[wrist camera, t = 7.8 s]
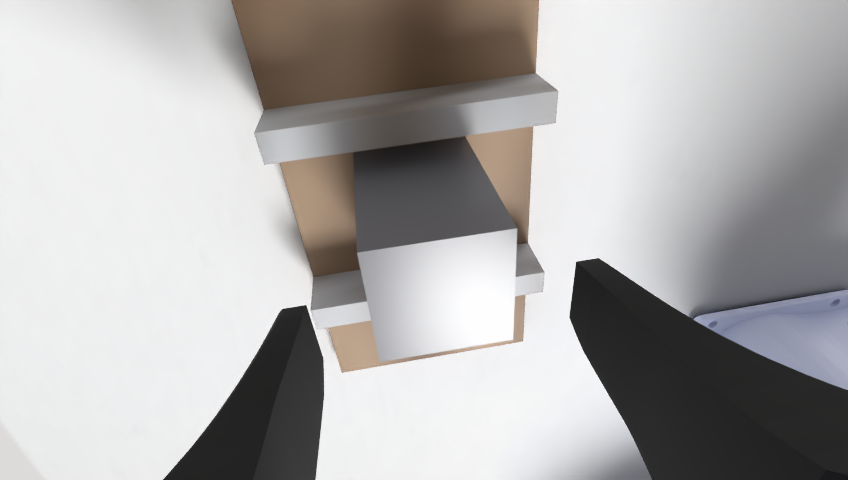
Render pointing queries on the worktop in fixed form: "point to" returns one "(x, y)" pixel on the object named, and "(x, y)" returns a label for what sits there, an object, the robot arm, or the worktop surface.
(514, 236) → the grey rectangular block
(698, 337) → the robot arm
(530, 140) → the end holder
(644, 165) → the worktop surface
